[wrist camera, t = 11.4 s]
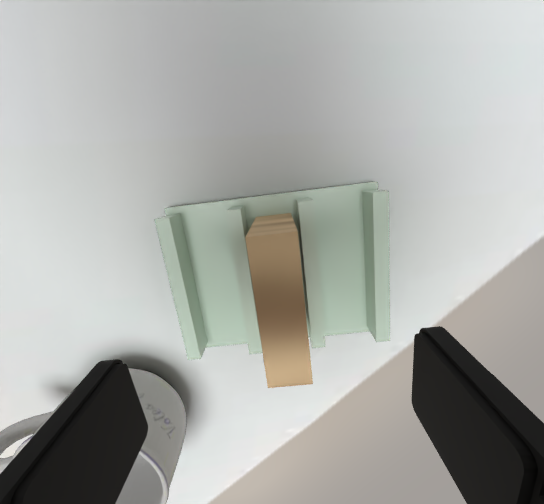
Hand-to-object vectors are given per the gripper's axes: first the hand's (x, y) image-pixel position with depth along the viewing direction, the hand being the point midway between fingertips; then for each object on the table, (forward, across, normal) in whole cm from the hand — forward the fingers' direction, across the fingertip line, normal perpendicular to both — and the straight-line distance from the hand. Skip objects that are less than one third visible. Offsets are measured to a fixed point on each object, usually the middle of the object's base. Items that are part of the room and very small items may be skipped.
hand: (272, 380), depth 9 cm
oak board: (+13, 0, +1) cm, 13 cm away
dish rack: (+14, 0, +2) cm, 14 cm away
